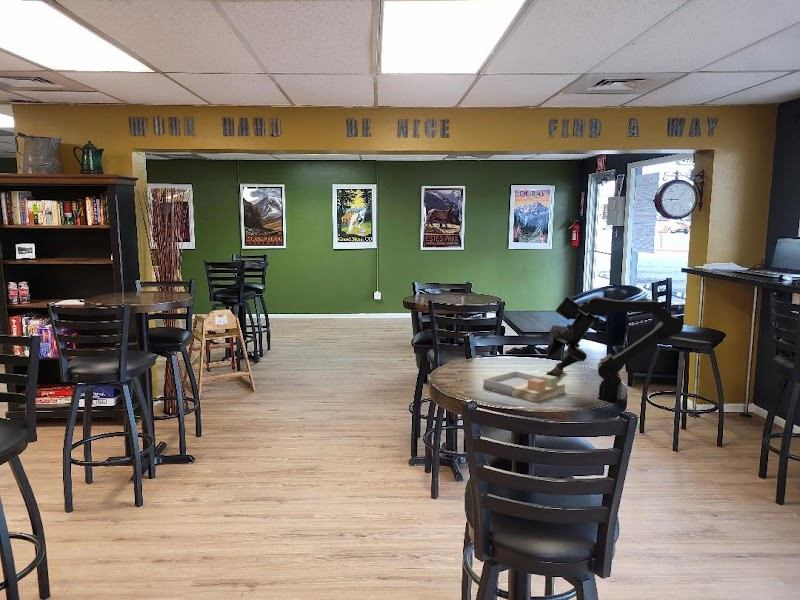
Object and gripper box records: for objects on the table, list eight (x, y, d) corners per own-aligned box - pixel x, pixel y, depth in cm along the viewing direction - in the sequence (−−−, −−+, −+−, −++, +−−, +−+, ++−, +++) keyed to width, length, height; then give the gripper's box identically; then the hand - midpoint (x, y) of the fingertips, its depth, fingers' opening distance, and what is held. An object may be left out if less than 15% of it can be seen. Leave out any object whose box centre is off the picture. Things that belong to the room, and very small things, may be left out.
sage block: (557, 385, 204) (557, 377, 203) (550, 387, 201) (551, 379, 200) (546, 382, 207) (546, 374, 206) (539, 384, 204) (540, 376, 203)
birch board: (564, 392, 205) (565, 384, 205) (535, 402, 192) (536, 393, 192) (540, 386, 212) (541, 378, 212) (511, 395, 199) (511, 387, 199)
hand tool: (555, 382, 220) (556, 371, 219) (545, 380, 222) (546, 369, 221) (568, 373, 236) (569, 362, 235) (558, 371, 238) (559, 361, 237)
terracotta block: (545, 388, 198) (545, 380, 198) (538, 391, 195) (538, 382, 195) (534, 386, 201) (534, 378, 201) (527, 388, 198) (527, 380, 198)
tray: (541, 386, 213) (541, 377, 212) (510, 395, 199) (510, 386, 199) (514, 379, 221) (514, 371, 221) (483, 388, 208) (483, 379, 207)
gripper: (551, 307, 204) (526, 341, 208) (574, 329, 188) (547, 366, 191) (573, 320, 208) (549, 353, 212) (598, 343, 191) (571, 379, 195)
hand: (553, 362), depth 203 cm, fingers open, 9 cm apart
